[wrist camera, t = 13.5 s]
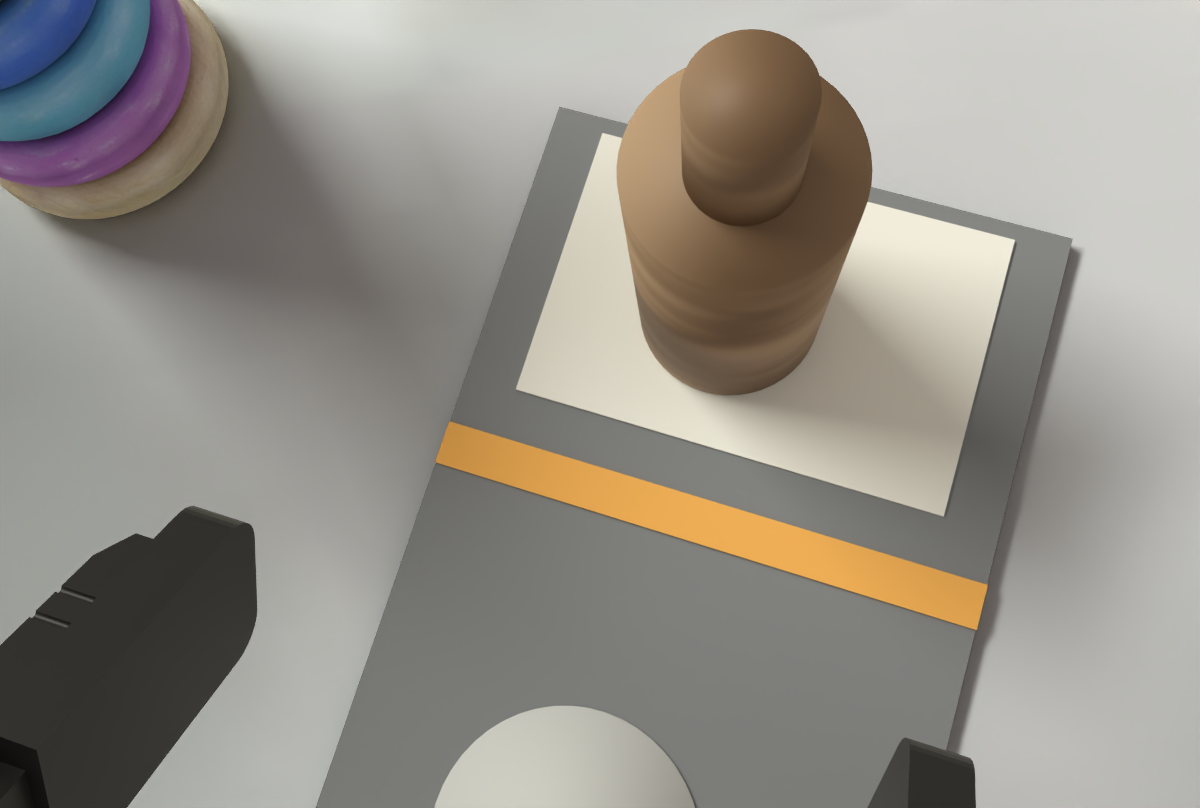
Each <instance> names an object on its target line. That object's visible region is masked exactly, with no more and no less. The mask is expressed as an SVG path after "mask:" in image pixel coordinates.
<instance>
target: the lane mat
mask: <svg viewBox="0 0 1200 808" xmlns="http://www.w3.org/2000/svg"><path fill="white" fill-rule="evenodd" d="M627 125H628V124H624V123H620V122H617V121H613V120H609V119H605V118H601V117H597V116H593V115H589V114H585V113H582V112H578V111H574V110H570V109H566V108H562V107H559V110H558V113H557V116H556V119H555V121H554V124H553V127H552V130H551V133H550V136H549V139H548V142H547V144H546V147H545V150H544V153H543V156H542V159H541V162H540V165H539V167H538V170H537V173H536V176H535V179H534V182H533V185H532V188H531V190H530V193H529V196H528V199H527V202H526V205H525V208H524V211H523V213H522V216H521V219H520V222H519V225H518V228H517V231H516V234H515V236H514V239H513V242H512V245H511V248H510V251H509V254H508V257H507V259H506V262H505V265H504V268H503V271H502V274H501V277H500V280H499V282H498V285H497V288H496V291H495V294H494V297H493V300H492V303H491V305H490V308H489V311H488V314H487V317H486V320H485V323H484V326H483V328H482V331H481V334H480V337H479V340H478V343H477V346H476V349H475V351H474V354H473V357H472V360H471V363H470V366H469V369H468V372H467V374H466V377H465V380H464V383H463V386H462V389H461V392H460V395H459V397H458V400H457V403H456V406H455V409H454V412H453V415H452V418H451V420H450V421H449V423H448V426H447V429H446V432H445V435H444V438H443V441H442V443H441V446H440V449H439V452H438V455H437V458H436V461H435V462H436V464H435V466H434V469H433V472H432V475H431V478H430V481H429V484H428V487H427V489H426V492H425V495H424V498H423V501H422V504H421V507H420V510H419V512H418V515H417V518H416V521H415V524H414V527H413V530H412V533H411V535H410V538H409V541H408V544H407V547H406V550H405V553H404V556H403V558H402V561H401V564H400V567H399V570H398V573H397V576H396V579H395V581H394V584H393V587H392V590H391V593H390V596H389V599H388V602H387V604H386V607H385V610H384V613H383V616H382V619H381V622H380V625H379V627H378V630H377V633H376V636H375V639H374V642H373V645H372V648H371V650H370V653H369V656H368V659H367V662H366V665H365V668H364V671H363V673H362V676H361V679H360V682H359V685H358V688H357V691H356V694H355V696H354V699H353V702H352V705H351V708H350V711H349V714H348V717H347V719H346V722H345V725H344V728H343V731H342V734H341V737H340V740H339V742H338V745H337V748H336V751H335V754H334V757H333V760H332V763H331V765H330V768H329V771H328V774H327V777H326V780H325V783H324V786H323V788H322V791H321V794H320V797H319V800H318V803H317V806H316V808H867V807H868V805H869V803H870V801H871V799H872V797H873V795H874V793H875V791H876V789H877V787H878V785H879V783H880V781H881V779H882V777H883V775H884V773H885V771H886V769H887V767H888V765H889V763H890V761H891V759H892V757H893V755H894V753H895V751H896V749H897V747H898V745H899V743H900V742H901V740H902V739H903V738H909V739H912V740H915V741H918V742H921V743H924V744H928V745H931V746H934V747H937V748H940V749H943V750H946V748H947V744H948V740H949V736H950V732H951V728H952V724H953V720H954V716H955V712H956V708H957V704H958V700H959V696H960V692H961V688H962V684H963V680H964V676H965V672H966V668H967V664H968V660H969V656H970V651H971V647H972V643H973V639H974V635H975V631H976V630H977V627H978V623H979V619H980V615H981V611H982V607H983V603H984V599H985V595H986V591H987V587H988V585H987V583H988V579H989V575H990V571H991V567H992V563H993V559H994V554H995V550H996V546H997V542H998V538H999V534H1000V530H1001V526H1002V522H1003V518H1004V514H1005V510H1006V506H1007V502H1008V498H1009V494H1010V490H1011V486H1012V482H1013V478H1014V474H1015V470H1016V466H1017V461H1018V457H1019V453H1020V449H1021V445H1022V441H1023V437H1024V433H1025V429H1026V425H1027V421H1028V417H1029V413H1030V409H1031V405H1032V401H1033V397H1034V393H1035V389H1036V385H1037V381H1038V377H1039V373H1040V369H1041V364H1042V360H1043V356H1044V352H1045V348H1046V344H1047V340H1048V336H1049V332H1050V328H1051V324H1052V320H1053V316H1054V312H1055V308H1056V304H1057V300H1058V296H1059V292H1060V288H1061V284H1062V280H1063V276H1064V272H1065V267H1066V263H1067V259H1068V255H1069V251H1070V247H1071V243H1072V239H1071V238H1067V237H1063V236H1059V235H1056V234H1052V233H1048V232H1044V231H1040V230H1036V229H1032V228H1028V227H1024V226H1021V225H1017V224H1013V223H1009V222H1005V221H1001V220H997V219H993V218H990V217H986V216H982V215H978V214H974V213H970V212H966V211H962V210H958V209H955V208H951V207H947V206H943V205H939V204H935V203H931V202H927V201H923V200H920V199H916V198H912V197H908V196H904V195H900V194H896V193H892V192H889V191H885V190H881V189H877V188H873V187H871V189H870V194H869V198H868V202H867V205H866V208H865V210H864V213H863V216H862V218H861V221H860V224H859V226H858V229H857V231H856V234H855V236H854V239H853V242H852V244H851V247H850V249H849V252H848V254H847V257H846V260H845V262H844V265H843V267H842V270H841V273H840V275H839V278H838V280H837V283H836V285H835V288H834V291H833V293H832V296H831V298H830V301H829V304H828V306H827V309H826V311H825V314H824V316H823V319H822V322H821V324H820V327H819V329H818V332H817V335H816V337H815V340H814V342H813V344H812V346H811V348H810V350H809V352H808V354H807V355H806V356H805V358H804V359H803V361H802V362H801V363H800V364H799V365H798V366H797V367H796V368H795V369H794V370H793V371H792V372H791V373H790V374H789V375H787V376H786V377H785V378H784V379H782V380H780V381H779V382H777V383H776V384H774V385H772V386H769V387H767V388H765V389H763V390H759V391H756V392H753V393H748V394H742V395H718V394H712V393H708V392H703V391H700V390H698V389H695V388H692V387H690V386H688V385H686V384H684V383H682V382H681V381H679V380H678V379H676V378H675V377H674V376H672V375H671V374H670V373H669V372H668V371H667V370H666V369H664V368H663V367H662V365H661V364H660V363H659V362H658V361H657V359H656V358H655V357H654V355H653V353H652V352H651V350H650V348H649V346H648V344H647V342H646V340H645V337H644V334H643V331H642V327H641V321H640V315H639V309H638V304H637V298H636V292H635V286H634V280H633V275H632V269H631V263H630V257H629V252H628V246H627V240H626V234H625V229H624V223H623V217H622V211H621V205H620V200H619V194H618V187H617V168H616V167H617V159H618V152H619V148H620V144H621V141H622V137H623V135H624V132H625V130H626V128H627Z"/></svg>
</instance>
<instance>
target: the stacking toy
mask: <svg viewBox="0 0 1200 808" xmlns="http://www.w3.org/2000/svg"><path fill="white" fill-rule="evenodd" d="M228 86H229V80H228V68H227V61H226V57H225V53H224V50H223V46H222V44H221V41H220V39H219V36H218V35H217V33H216V31H215V29H214V27H213V25H212V23H211V22H210V20H209V19H208V17H207V16H206V14H205V13H204V12H203V11H202V10H201V8H200V7H199V6H198V5H197V4H196V3H195V2H194V1H193V0H0V185H1V186H2V187H3V188H5V189H6V190H7V191H8V192H9V193H11V194H12V195H13V196H15V197H16V198H18V199H19V200H21V201H22V202H24V203H26V204H28V205H29V206H32V207H34V208H36V209H39V210H41V211H43V212H47V213H50V214H53V215H57V216H61V217H66V218H73V219H102V218H108V217H114V216H119V215H123V214H126V213H129V212H132V211H135V210H138V209H140V208H143V207H145V206H147V205H149V204H151V203H153V202H155V201H156V200H158V199H160V198H162V197H163V196H165V195H166V194H168V193H169V192H170V191H172V190H173V189H175V188H176V187H177V186H178V185H180V184H181V183H182V182H183V181H184V180H185V179H186V178H187V177H188V176H189V175H190V174H191V173H192V172H193V171H194V170H195V169H196V168H197V166H198V165H199V164H200V163H201V161H202V160H203V159H204V157H205V156H206V154H207V153H208V151H209V150H210V148H211V146H212V144H213V143H214V141H215V139H216V137H217V134H218V132H219V130H220V127H221V124H222V121H223V118H224V114H225V111H226V105H227V99H228Z"/></svg>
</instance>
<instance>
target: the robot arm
mask: <svg viewBox="0 0 1200 808" xmlns="http://www.w3.org/2000/svg"><path fill="white" fill-rule="evenodd" d="M256 616H257V593H256V564H255V537H254V531H253V528H252V526H251V525H250V524H248V523H245V522H242V521H239V520H236V519H232V518H229V517H226V516H223V515H220V514H217V513H214V512H211V511H208V510H204V509H201V508H198V507H195V506H191V507H188V508H185V509H184V510H182V511H181V512H180V513H179V514H178V515H177V516H176V517H175V518H174V519H173V520H172V521H171V522H170V523H169V524H168V525H167V526H166V527H165V528H164V529H163V530H162V531H161V532H160V533H159V534H158V535H157V536H156V537H155V538H154V539H151V538H148V537H145V536H142V535H139V534H134V535H132V536H130V537H128V538H126V539H124V540H122V541H120V542H118V543H116V544H114V545H112V546H110V547H108V548H107V549H105V550H103V551H101V552H99V553H97V554H95V555H93V556H92V557H91V558H90V559H89V560H88V561H87V562H86V563H85V564H84V565H83V566H82V567H81V568H80V569H79V570H77V571H76V572H75V573H74V574H73V575H72V576H71V577H70V578H69V579H68V580H67V581H66V582H65V583H64V584H63V585H62V588H61V590H60V592H59V593H57V592H55V593H54V594H53V595H52V596H51V597H50V598H49V599H48V600H47V601H46V602H45V603H43V604H42V605H41V606H40V607H39V608H38V609H37V610H36V614H35V616H34V617H33V618H30V617H29V618H28V619H27V620H26V621H25V622H24V623H23V624H22V625H21V626H20V627H19V628H18V629H17V630H16V631H15V632H14V633H13V634H12V635H11V636H9V637H8V638H7V639H6V640H5V641H4V642H3V643H2V644H1V645H0V808H127V807H128V805H129V804H130V803H131V801H132V800H133V799H134V797H135V796H136V795H137V793H138V792H139V791H140V789H141V788H142V787H143V785H144V784H145V783H146V782H147V780H148V779H149V778H150V776H151V775H152V774H153V772H154V771H155V770H156V768H157V767H158V766H159V764H160V763H161V762H162V760H163V759H164V758H165V757H166V755H167V754H168V753H169V751H170V750H171V749H172V747H173V746H174V745H175V743H176V742H177V741H178V739H179V738H180V737H181V735H182V734H183V733H184V731H185V730H186V729H187V728H188V726H189V725H190V724H191V722H192V721H193V720H194V718H195V717H196V716H197V714H198V713H199V712H200V710H201V709H202V708H203V706H204V705H205V704H206V703H207V701H208V700H209V699H210V697H211V696H212V695H213V693H214V692H215V691H216V689H217V688H218V687H219V685H220V684H221V683H222V681H223V680H224V679H225V678H226V676H227V675H228V674H229V672H230V671H231V670H232V668H233V667H234V666H235V664H236V663H237V662H238V660H239V659H240V657H241V656H242V654H243V652H244V651H245V649H246V647H247V645H248V643H249V640H250V638H251V635H252V632H253V629H254V626H255V621H256ZM867 808H976V798H975V769H974V764H973V761H972V760H971V759H970V758H968V757H965V756H962V755H959V754H956V753H952V752H949V751H946V750H943V749H940V748H937V747H934V746H931V745H928V744H924V743H921V742H918V741H915V740H912V739H909V738H903V739H902V740H901V742H900V743H899V745H898V747H897V749H896V751H895V753H894V755H893V757H892V759H891V761H890V763H889V765H888V767H887V769H886V771H885V773H884V775H883V777H882V779H881V781H880V783H879V785H878V787H877V789H876V791H875V793H874V795H873V797H872V799H871V801H870V803H869V805H868V807H867Z"/></svg>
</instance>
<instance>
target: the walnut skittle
mask: <svg viewBox="0 0 1200 808" xmlns="http://www.w3.org/2000/svg"><path fill="white" fill-rule="evenodd" d="M616 168H617V187H618V194H619V200H620V205H621V211H622V217H623V223H624V229H625V234H626V240H627V246H628V252H629V257H630V263H631V269H632V275H633V280H634V286H635V292H636V298H637V304H638V309H639V315H640V321H641V327H642V331H643V334H644V337H645V340H646V342H647V344H648V346H649V348H650V350H651V352H652V353H653V355H654V357H655V358H656V359H657V361H658V362H659V363H660V364H661V365H662V367H663V368H664V369H666V370H667V371H668V372H669V373H670V374H671V375H672V376H674V377H675V378H676V379H678V380H679V381H681V382H682V383H684V384H686V385H688V386H690V387H692V388H695V389H698V390H700V391H703V392H708V393H712V394H718V395H742V394H748V393H753V392H756V391H759V390H763V389H765V388H767V387H769V386H772V385H774V384H776V383H777V382H779V381H780V380H782V379H784V378H785V377H786V376H787V375H789V374H790V373H791V372H792V371H793V370H794V369H795V368H796V367H797V366H798V365H799V364H800V363H801V362H802V361H803V359H804V358H805V356H806V355H807V354H808V352H809V350H810V348H811V346H812V344H813V342H814V340H815V337H816V335H817V332H818V329H819V327H820V324H821V322H822V319H823V316H824V314H825V311H826V309H827V306H828V304H829V301H830V298H831V296H832V293H833V291H834V288H835V285H836V283H837V280H838V278H839V275H840V273H841V270H842V267H843V265H844V262H845V260H846V257H847V254H848V252H849V249H850V247H851V244H852V242H853V239H854V236H855V234H856V231H857V229H858V226H859V224H860V221H861V218H862V216H863V213H864V210H865V208H866V205H867V202H868V198H869V194H870V189H871V181H872V160H871V152H870V147H869V143H868V139H867V136H866V134H865V131H864V128H863V126H862V124H861V122H860V120H859V118H858V116H857V114H856V112H855V111H854V109H853V108H852V107H851V105H850V104H849V103H848V101H847V100H846V99H845V98H844V97H843V96H842V94H841V93H840V92H839V91H838V90H837V89H836V88H835V87H834V86H832V85H831V84H830V83H829V82H827V81H826V80H825V79H823V78H822V77H821V76H819V73H818V71H817V68H816V66H815V64H814V63H813V61H812V59H811V58H810V57H809V55H808V54H807V53H806V52H805V51H804V50H803V49H802V48H801V47H800V46H799V45H797V44H796V43H795V42H793V41H792V40H790V39H788V38H786V37H784V36H782V35H780V34H777V33H774V32H770V31H765V30H755V29H749V30H739V31H734V32H730V33H727V34H724V35H722V36H720V37H717V38H715V39H714V40H712V41H710V42H709V43H707V44H706V45H705V46H703V47H702V48H701V49H700V50H699V51H698V52H697V53H696V54H695V55H694V57H693V58H692V59H691V60H690V62H689V64H688V65H687V67H686V68H684V69H682V70H680V71H679V72H677V73H675V74H674V75H672V76H670V77H669V78H667V79H666V80H665V81H664V82H662V83H661V84H660V85H658V86H657V87H656V88H655V89H654V90H653V91H652V92H651V93H650V94H649V95H648V96H647V97H646V98H645V99H644V101H643V102H642V103H641V104H640V106H639V107H638V108H637V110H636V111H635V113H634V114H633V116H632V118H631V120H630V121H629V123H628V125H627V128H626V130H625V132H624V135H623V137H622V141H621V144H620V148H619V152H618V159H617V167H616Z"/></svg>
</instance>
